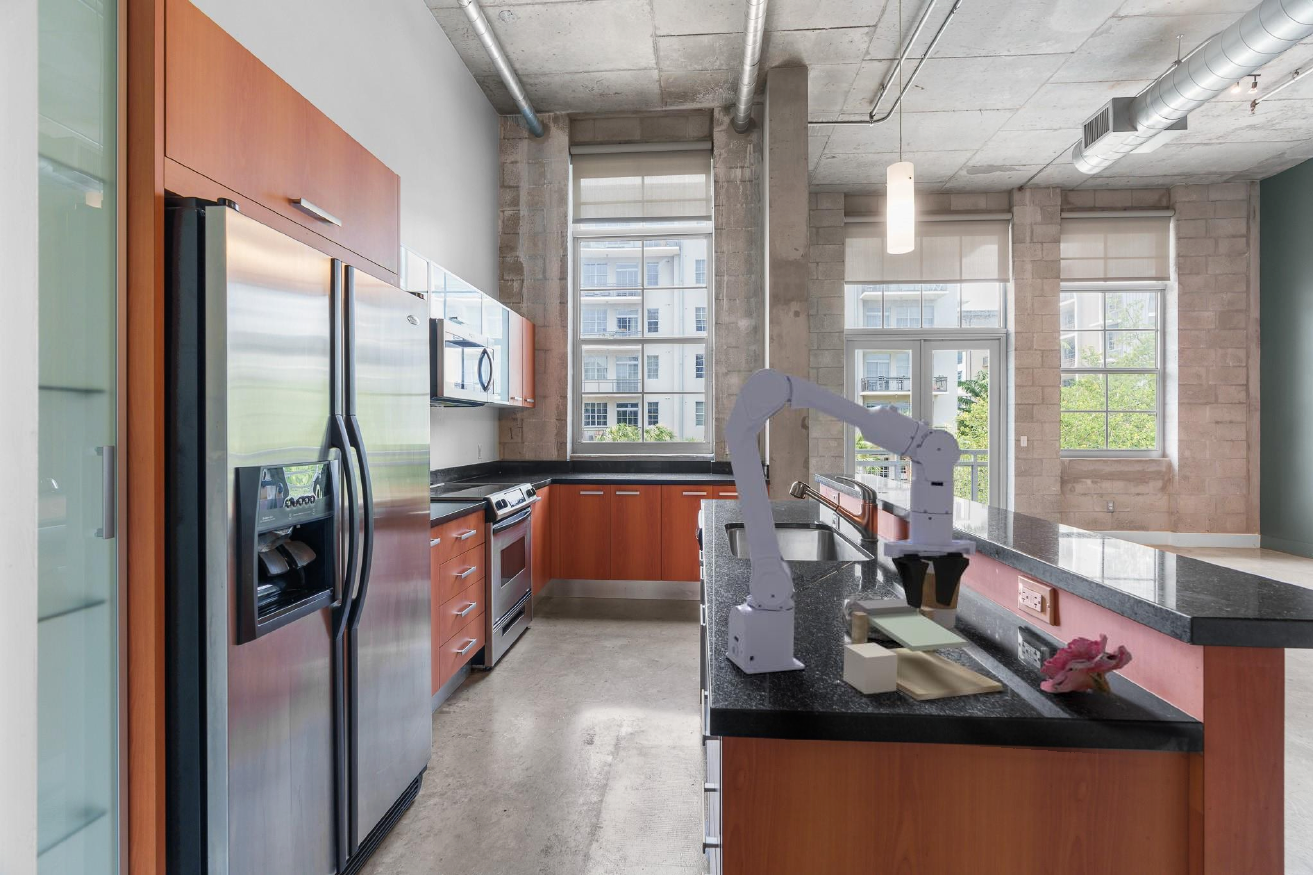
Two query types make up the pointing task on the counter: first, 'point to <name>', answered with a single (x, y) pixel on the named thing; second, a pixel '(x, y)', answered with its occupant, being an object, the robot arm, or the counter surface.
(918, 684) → the stand
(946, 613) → the coffee cup
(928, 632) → the trapdoor
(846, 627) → the rock
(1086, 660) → the flower
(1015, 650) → the counter surface
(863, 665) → the cream cube
